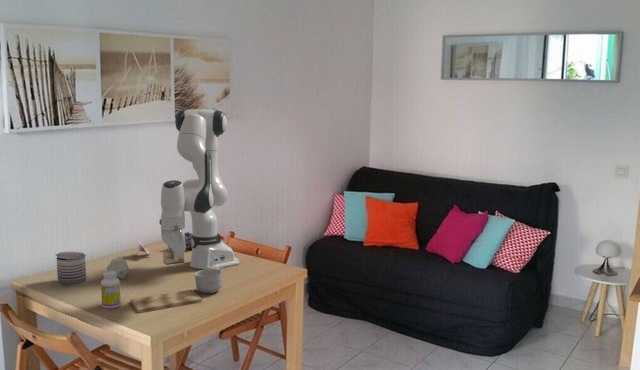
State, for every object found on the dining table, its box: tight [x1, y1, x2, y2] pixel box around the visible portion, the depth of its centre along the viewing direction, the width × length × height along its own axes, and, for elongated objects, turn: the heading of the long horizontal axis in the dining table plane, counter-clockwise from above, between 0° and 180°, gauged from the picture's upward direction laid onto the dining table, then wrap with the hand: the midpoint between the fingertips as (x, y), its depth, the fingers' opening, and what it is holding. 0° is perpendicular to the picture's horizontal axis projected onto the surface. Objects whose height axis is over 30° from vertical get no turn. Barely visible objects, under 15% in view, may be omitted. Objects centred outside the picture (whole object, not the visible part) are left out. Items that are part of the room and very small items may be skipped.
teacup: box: [194, 268, 223, 294], centre depth 255 cm, size 14×11×8 cm
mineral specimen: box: [183, 231, 193, 249], centre depth 313 cm, size 13×10×11 cm
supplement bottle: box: [100, 271, 122, 309], centre depth 235 cm, size 7×7×13 cm
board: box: [129, 289, 203, 314], centre depth 241 cm, size 24×12×1 cm, turn 120°
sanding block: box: [162, 249, 185, 266], centre depth 244 cm, size 7×4×4 cm, turn 118°
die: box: [106, 258, 130, 279], centre depth 269 cm, size 8×9×10 cm
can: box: [55, 250, 87, 287], centre depth 262 cm, size 11×11×12 cm
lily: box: [134, 238, 151, 258], centre depth 300 cm, size 11×11×9 cm
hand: (173, 258), depth 244 cm, fingers closed on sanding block, 4 cm apart
